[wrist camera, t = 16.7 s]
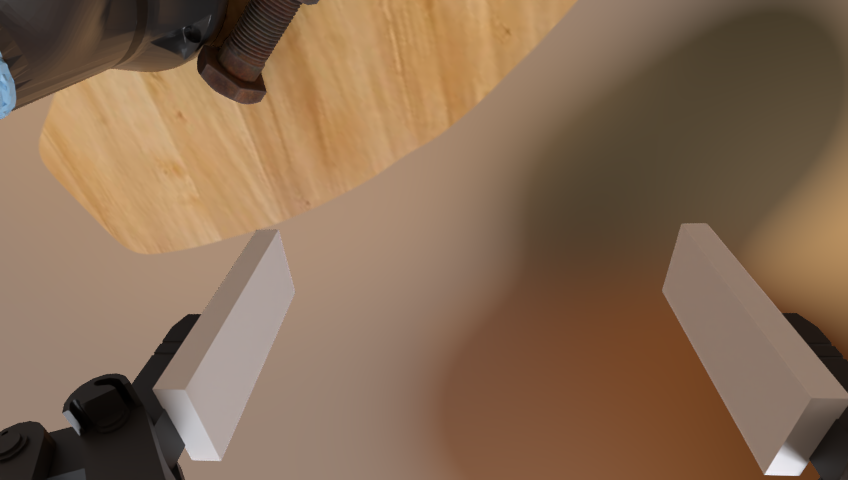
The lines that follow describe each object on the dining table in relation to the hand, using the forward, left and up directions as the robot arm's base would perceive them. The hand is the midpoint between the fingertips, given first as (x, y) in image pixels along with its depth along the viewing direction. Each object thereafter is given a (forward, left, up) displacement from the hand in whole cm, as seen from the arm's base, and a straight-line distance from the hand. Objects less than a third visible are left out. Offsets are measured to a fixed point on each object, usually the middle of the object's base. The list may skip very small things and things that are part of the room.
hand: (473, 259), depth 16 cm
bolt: (-15, +5, -29) cm, 33 cm away
